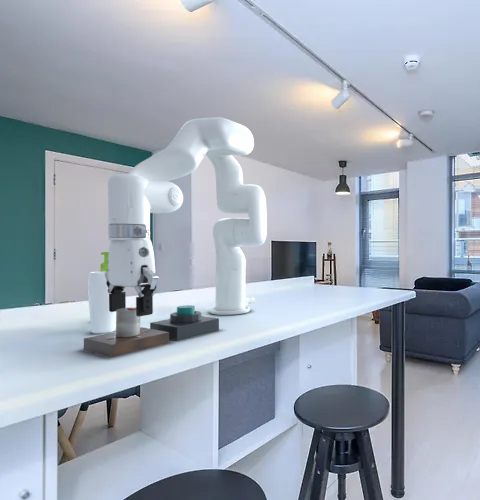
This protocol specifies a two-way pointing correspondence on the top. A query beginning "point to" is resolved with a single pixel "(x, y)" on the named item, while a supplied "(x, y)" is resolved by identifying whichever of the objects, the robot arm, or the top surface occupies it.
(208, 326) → the button base
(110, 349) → the panel
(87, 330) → the top surface
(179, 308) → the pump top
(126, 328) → the lock knob
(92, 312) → the white lotion bottle
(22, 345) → the top surface
